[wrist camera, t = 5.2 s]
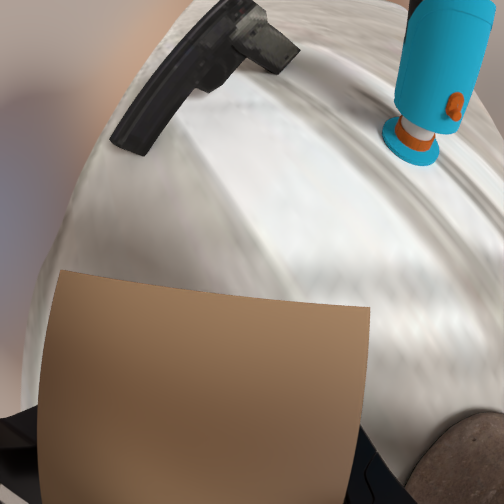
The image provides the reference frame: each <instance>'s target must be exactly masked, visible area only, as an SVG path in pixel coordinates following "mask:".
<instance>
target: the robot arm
mask: <svg viewBox="0 0 504 504" xmlns="http://www.w3.org/2000/svg"><path fill="white" fill-rule="evenodd" d="M37 412H38V405H36V406H34V407H32V408H29V409H27V410H25V411H22V412H20V413H17V414H15V415H13V416H10V417H7V418H0V504H42V498H41V490H40V481H39V470H38V453H37ZM376 451H377V450H376V448H375V447H374V445H373V444H372V442H371V441H370V439H369V437H368V436H367V434H366V433H365V431H364V430H363V428H362V426H361V425H360V426H359V432H358V438H357V443H356V449H355V454H354V459H353V464H352V468H351V473H350V477H349V482H348V486H347V490H346V494H345V498H344V502H343V504H418V503H417V502H416V501H415V499H414V498H413V497H412V496H411V495H410V494H409V493H408V491H407V490H406V489H405V488H404V487H403V486H402V485H401V483H400V482H399V481H398V480H397V479H396V477H395V476H394V475H393V474H392V472H391V471H390V470H389V468H388V467H387V465H386V464H385V462H384V461H383V459H382V458H381V456H380V455H379V453H378V452H376Z"/></svg>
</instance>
